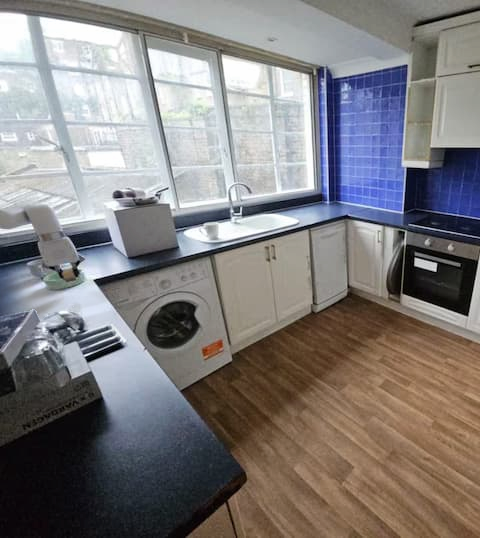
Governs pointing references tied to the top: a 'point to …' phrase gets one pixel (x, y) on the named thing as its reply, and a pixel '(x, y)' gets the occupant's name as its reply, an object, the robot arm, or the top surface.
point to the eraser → (68, 275)
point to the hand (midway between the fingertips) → (71, 277)
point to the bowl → (62, 281)
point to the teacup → (39, 269)
